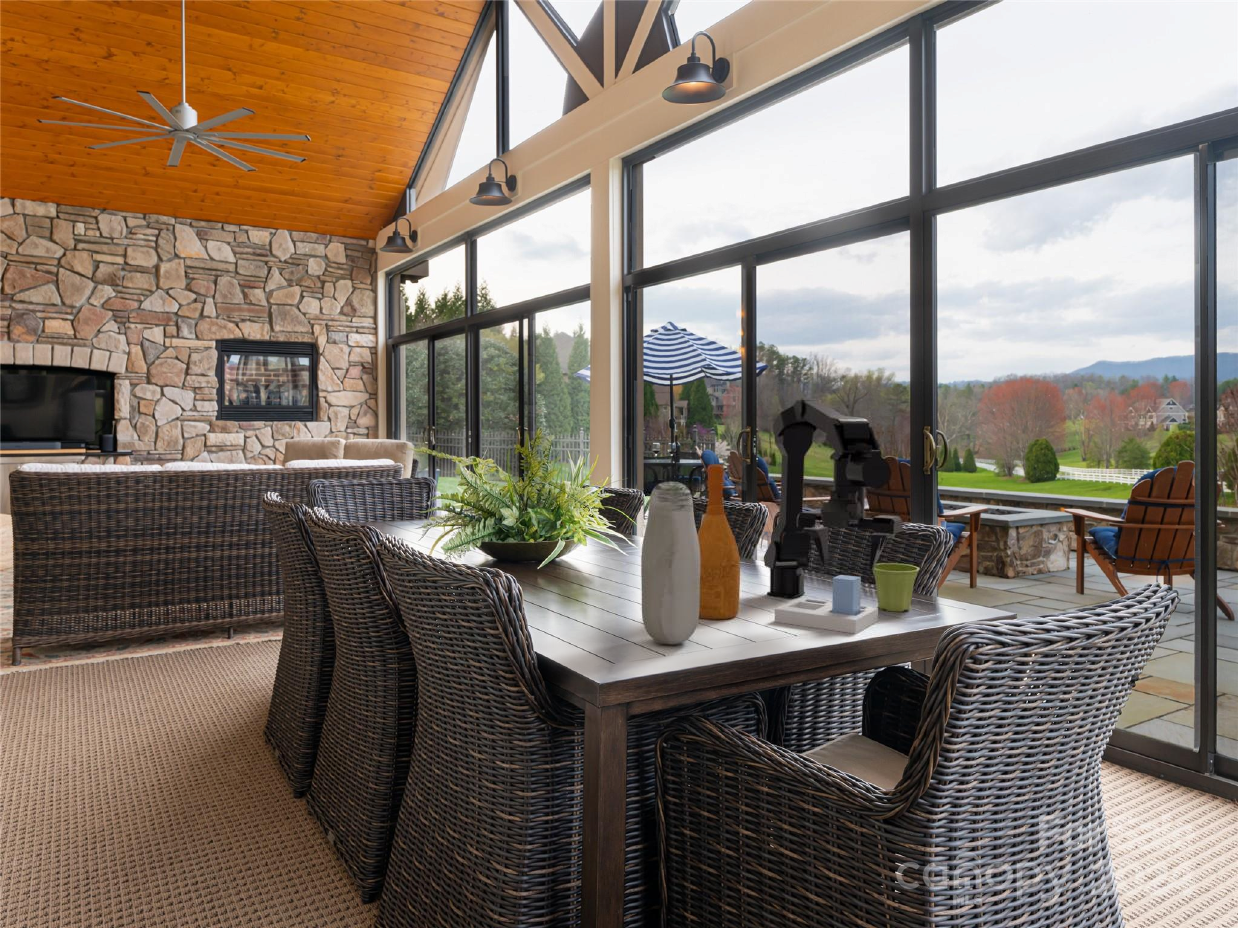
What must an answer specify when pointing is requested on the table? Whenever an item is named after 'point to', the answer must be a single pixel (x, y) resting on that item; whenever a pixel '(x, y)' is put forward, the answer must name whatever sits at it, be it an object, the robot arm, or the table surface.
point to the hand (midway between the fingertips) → (847, 567)
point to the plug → (846, 595)
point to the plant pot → (894, 585)
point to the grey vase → (670, 566)
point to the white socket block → (824, 616)
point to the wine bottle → (717, 555)
